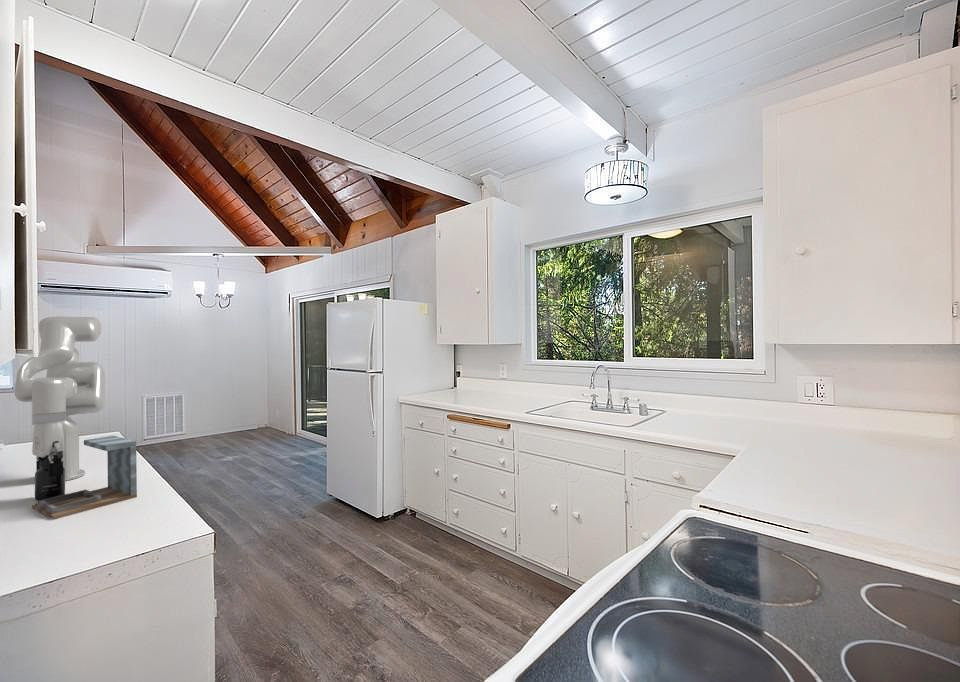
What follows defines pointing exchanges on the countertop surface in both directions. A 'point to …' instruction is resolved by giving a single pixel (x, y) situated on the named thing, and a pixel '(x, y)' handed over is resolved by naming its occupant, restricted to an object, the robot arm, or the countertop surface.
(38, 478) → the supplement bottle
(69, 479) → the robot arm
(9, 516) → the countertop surface
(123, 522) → the countertop surface
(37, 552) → the countertop surface
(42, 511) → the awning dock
